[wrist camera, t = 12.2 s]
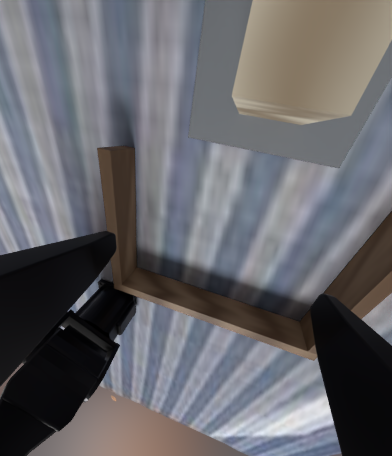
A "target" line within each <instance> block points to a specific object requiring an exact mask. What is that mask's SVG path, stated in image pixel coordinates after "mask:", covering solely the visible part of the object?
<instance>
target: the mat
mask: <svg viewBox="0 0 392 456" xmlns="http://www.w3.org/2000/svg"><path fill="white" fill-rule="evenodd" d="M252 1H253V0H205V7H204V15H203V23H202V31H201V39H200V47H199V55H198V63H197V71H196V79H195V87H194V95H193V103H192V111H191V119H190V127H189V134H188V137H189V138H194V139H199V140H204V141H209V142H213V143H218V144H223V145H228V146H233V147H238V148H243V149H248V150H252V151H257V152H262V153H267V154H272V155H277V156H282V157H286V158H291V159H296V160H301V161H306V162H311V163H316V164H320V165H325V166H330V167H335V168H340V166H341V164H342V163H343V161H344V159H345V157H346V156H347V154H348V152H349V150H350V149H351V147H352V145H353V143H354V142H355V140H356V138H357V137H358V135H359V133H360V131H361V130H362V128H363V126H364V124H365V123H366V121H367V119H368V117H369V116H370V114H371V112H372V111H373V109H374V107H375V105H376V104H377V102H378V100H379V98H380V97H381V95H382V93H383V91H384V90H385V88H386V86H387V85H388V83H389V81H390V79H391V78H392V40H391V42H390V44H389V46H388V48H387V50H386V52H385V54H384V55H383V57H382V59H381V61H380V63H379V65H378V67H377V68H376V70H375V72H374V74H373V76H372V78H371V80H370V82H369V83H368V85H367V87H366V89H365V91H364V93H363V95H362V96H361V98H360V100H359V102H358V104H357V106H356V108H355V110H354V111H353V113H352V115H351V116H347V117H342V118H336V119H331V120H326V121H320V122H315V123H310V124H304V125H298V124H293V123H287V122H282V121H276V120H271V119H265V118H260V117H254V116H249V115H243V114H239V112H238V110H237V107H236V105H235V103H234V100H233V98H232V92H233V87H234V83H235V78H236V74H237V69H238V65H239V60H240V56H241V51H242V46H243V42H244V37H245V33H246V28H247V24H248V19H249V15H250V10H251V6H252Z"/></svg>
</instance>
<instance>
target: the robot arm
mask: <svg viewBox="0 0 392 456" xmlns="http://www.w3.org/2000/svg"><path fill="white" fill-rule="evenodd" d="M116 249H117V245H116V235H115V234H114V233H112V232H109V231H103V232H99V233H95V234H90V235H86V236H82V237H77V238H73V239H69V240H64V241H60V242H56V243H52V244H47V245H43V246H39V247H34V248H30V249H26V250H21V251H17V252H13V253H8V254H4V255H0V386H1V385H2V384H3V383H4V382H5V381H6V380H7V379H8V377H9V376H10V375H11V374H12V373H13V372H14V371H15V369H16V368H17V367H18V366H19V365H20V364H21V363H24V365H23V366H22V367H21V368H20V369H19V370H18V371H17V372H16V373H15V374H14V375H13V376H12V377H11V378H10V380H9V381H8V383H7V385H6V386H5V388H4V390H3V392H2V395H1V397H0V456H27V455H28V454H29V453H30V452H31V451H32V450H34V449H35V448H36V447H37V446H39V445H40V444H41V443H42V442H44V441H45V440H46V439H47V438H49V437H50V436H51V435H52V434H54V433H55V432H56V431H60V430H61V429H62V428H64V427H65V426H66V425H67V424H68V423H69V422H70V421H71V420H72V419H73V417H74V416H75V414H76V412H77V410H78V409H79V407H80V406H81V404H82V403H83V402H86V401H87V400H88V399H89V398H90V397H91V396H92V394H93V393H94V392H95V390H96V389H97V387H98V386H99V385H100V383H101V381H102V380H103V378H104V376H105V374H106V372H107V370H108V368H109V366H110V364H111V362H112V360H113V358H114V356H115V354H116V352H117V350H118V348H119V346H120V345H119V344H118V343H115V342H114V340H115V338H116V337H117V335H121V334H122V333H123V332H124V330H125V328H126V327H127V325H128V324H129V322H130V320H131V319H132V317H133V316H134V315H135V313H136V306H135V296H134V295H131V294H128V293H126V292H123V291H120V290H117V289H115V288H114V284H112V283H109V282H107V281H104V280H100V281H99V282H98V285H99V289H98V290H97V291H96V292H95V293H94V294H93V295H92V296H91V297H90V299H89V300H88V301H87V302H86V303H85V304H84V305H83V306H82V307H81V308H80V309H79V310H78V311H77V312H76V313H74V311H72V310H70V311H69V312H67V311H68V310H69V309H70V308H71V307H72V305H73V304H74V303H75V302H76V301H77V300H78V299H79V298H80V296H81V295H82V294H83V293H84V292H85V291H86V290H87V289H88V287H89V286H90V285H91V284H92V283H93V282H94V281H95V279H96V278H97V277H98V275H99V274H100V273H101V271H102V270H103V269H104V267H105V266H106V265H107V263H108V262H109V260H110V259H111V258H112V256H113V255H114V254H115V252H116ZM310 314H311V321H312V328H313V335H314V341H315V348H316V353H317V358H318V362H319V366H320V370H321V374H322V378H323V382H324V386H325V389H326V393H327V397H328V401H329V405H330V409H331V413H332V417H333V421H334V425H335V429H336V433H337V437H338V441H339V445H340V449H341V453H342V456H392V346H391V345H390V344H389V343H388V342H387V341H386V340H384V339H383V338H382V337H381V336H380V335H379V334H378V333H376V332H375V331H374V330H373V329H372V328H371V327H369V326H368V325H367V324H366V323H365V322H364V321H362V320H361V319H360V318H359V317H358V316H357V315H355V314H354V313H353V312H352V311H351V310H350V309H349V308H347V307H346V306H345V305H344V304H343V303H342V302H340V301H339V300H338V299H337V298H336V297H334V296H331V295H327V294H321V295H319V297H318V298H317V299H316V301H315V302H314V303H313V305H312V306H311V309H310ZM61 326H63V327H64V328H65V329H64V330H62V329H61V328H60V327H61Z"/></svg>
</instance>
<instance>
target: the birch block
mask: <svg viewBox="0 0 392 456" xmlns="http://www.w3.org/2000/svg"><path fill="white" fill-rule="evenodd" d="M391 40H392V0H253V1H252V6H251V10H250V15H249V19H248V24H247V28H246V33H245V37H244V42H243V46H242V51H241V56H240V60H239V65H238V69H237V74H236V78H235V83H234V87H233V92H232V98H233V100H234V103H235V105H236V107H237V110H238V112H239V114H243V115H249V116H254V117H260V118H265V119H271V120H276V121H282V122H287V123H293V124H298V125H304V124H310V123H315V122H320V121H326V120H331V119H336V118H342V117H347V116H351V115H352V113H353V111H354V110H355V108H356V106H357V104H358V102H359V100H360V98H361V96H362V95H363V93H364V91H365V89H366V87H367V85H368V83H369V82H370V80H371V78H372V76H373V74H374V72H375V70H376V68H377V67H378V65H379V63H380V61H381V59H382V57H383V55H384V54H385V52H386V50H387V48H388V46H389V44H390V42H391Z"/></svg>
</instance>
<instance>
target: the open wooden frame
mask: <svg viewBox="0 0 392 456" xmlns="http://www.w3.org/2000/svg"><path fill="white" fill-rule="evenodd" d="M97 150H98V158H99V166H100V174H101V183H102V191H103V199H104V208H105V216H106V224H107V231H109V232H112V233H114V234H115V235H116V245H117V249H116V252H115V254H114V255H113V256H112V258H111V265H112V274H113V282H114V288H115V289H117V290H120V291H123V292H126V293H128V294H131V295H134V296H137V297H139V298H142V299H145V300H148V301H150V302H153V303H156V304H159V305H162V306H164V307H167V308H170V309H173V310H175V311H178V312H181V313H184V314H186V315H189V316H192V317H195V318H197V319H200V320H203V321H206V322H208V323H211V324H214V325H217V326H219V327H222V328H225V329H228V330H230V331H233V332H236V333H239V334H242V335H244V336H247V337H250V338H253V339H255V340H258V341H261V342H264V343H266V344H269V345H272V346H275V347H277V348H280V349H283V350H286V351H288V352H291V353H294V354H297V355H299V356H302V357H305V358H308V359H310V360H313V361H314V360H315V359H316V358H317V353H316V348H315V341H314V335H313V328H312V321H311V314H310V310H309V311H308V312H307V314H306V315H305V316H304V317H303V318H302V319H301V321H300V322H299V321H296V320H293V319H290V318H287V317H284V316H281V315H278V314H275V313H272V312H269V311H266V310H263V309H260V308H257V307H254V306H251V305H248V304H245V303H242V302H239V301H236V300H233V299H230V298H227V297H224V296H221V295H218V294H215V293H212V292H209V291H206V290H203V289H200V288H197V287H194V286H191V285H188V284H185V283H182V282H179V281H176V280H174V279H171V278H168V277H165V276H162V275H159V274H156V273H153V272H150V271H147V270H144V269H141V268H138V267H137V247H136V191H135V148H132V147H127V146H114V147H103V148H97ZM391 293H392V212H391V213H390V214H389V215H388V217H387V218H386V219H385V220H384V221H383V223H382V224H381V225H380V226H379V227H378V229H377V230H376V231H375V232H374V233H373V235H372V236H371V237H370V238H369V239H368V241H367V242H366V243H365V244H364V245H363V247H362V248H361V249H360V250H359V251H358V252H357V254H356V255H355V256H354V257H353V258H352V260H351V261H350V262H349V263H348V264H347V266H346V267H345V268H344V269H343V270H342V272H341V273H340V274H339V275H338V276H337V278H336V279H335V280H334V281H333V282H332V284H331V285H330V286H329V287H328V288H327V290H326V291H325V292H324V293H323V294H327V295H331V296H334V297H336V298H337V299H338V300H339V301H340V302H342V303H343V304H344V305H345V306H346V307H347V308H349V309H350V310H351V311H352V312H353V313H354V314H355V315H357V316H358V317H359V318H360V319H362V318H363V317H364V316H365V315H367V314H368V313H369V312H370V311H371V310H372V309H373V308H375V307H376V306H377V305H378V304H379V303H380V302H381V301H383V300H384V299H385V298H386V297H387V296H388V295H389V294H391Z"/></svg>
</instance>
